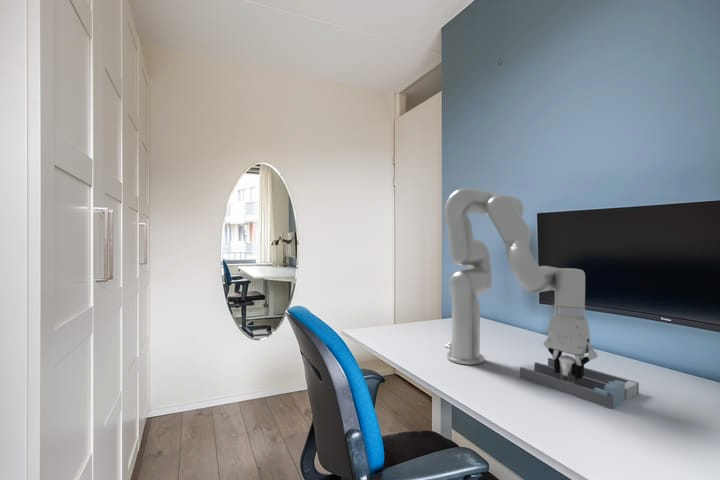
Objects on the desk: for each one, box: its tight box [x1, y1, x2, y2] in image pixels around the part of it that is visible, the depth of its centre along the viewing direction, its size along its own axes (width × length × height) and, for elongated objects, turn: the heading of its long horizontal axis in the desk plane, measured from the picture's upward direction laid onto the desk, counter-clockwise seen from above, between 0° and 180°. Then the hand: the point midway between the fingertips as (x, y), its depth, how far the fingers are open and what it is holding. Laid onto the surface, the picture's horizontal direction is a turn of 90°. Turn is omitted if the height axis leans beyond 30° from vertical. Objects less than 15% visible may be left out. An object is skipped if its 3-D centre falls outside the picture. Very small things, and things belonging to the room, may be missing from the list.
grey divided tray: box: [519, 357, 640, 410], centre depth 107 cm, size 25×17×5 cm
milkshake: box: [559, 354, 577, 384], centre depth 105 cm, size 4×5×10 cm
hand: (568, 374), depth 105 cm, fingers open, 4 cm apart
